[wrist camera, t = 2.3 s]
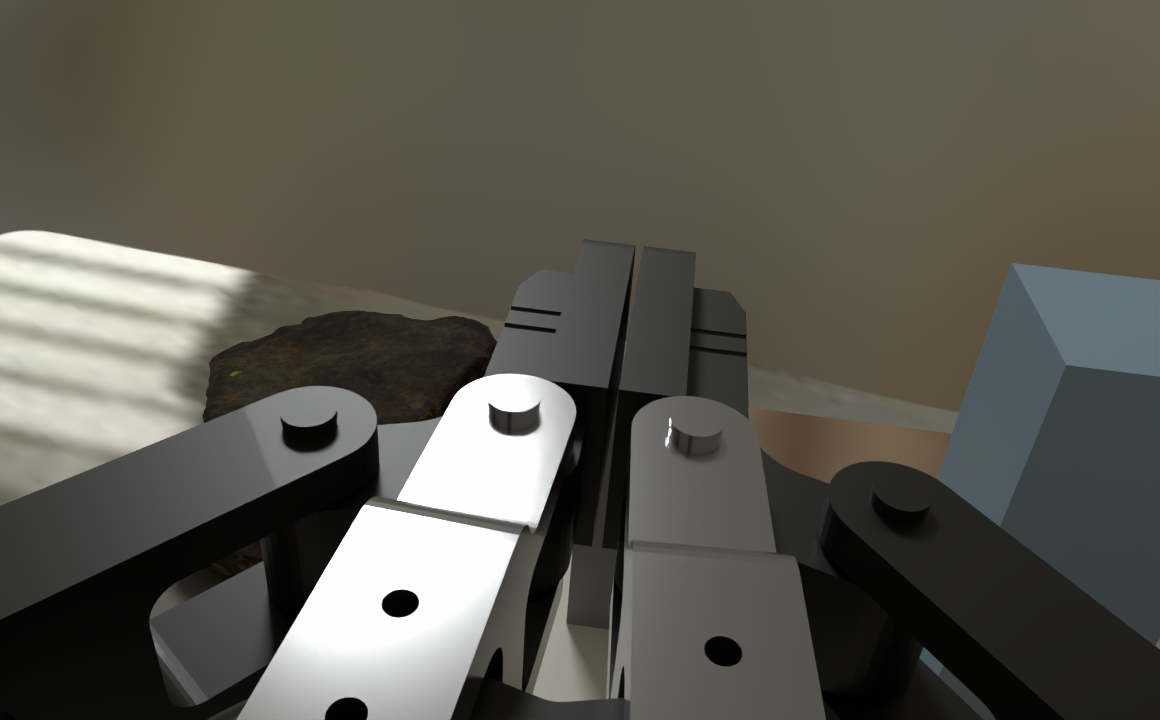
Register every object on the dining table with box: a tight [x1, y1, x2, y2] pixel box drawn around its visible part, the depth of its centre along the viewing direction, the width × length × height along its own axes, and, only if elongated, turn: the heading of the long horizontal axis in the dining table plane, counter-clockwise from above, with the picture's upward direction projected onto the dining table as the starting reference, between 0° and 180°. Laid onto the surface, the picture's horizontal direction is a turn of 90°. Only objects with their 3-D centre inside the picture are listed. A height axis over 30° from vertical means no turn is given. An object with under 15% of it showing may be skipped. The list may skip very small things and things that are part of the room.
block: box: [920, 263, 1160, 720], centre depth 27 cm, size 5×5×15 cm
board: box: [748, 408, 952, 484], centre depth 33 cm, size 21×23×2 cm
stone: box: [202, 311, 497, 578], centre depth 42 cm, size 18×11×3 cm, turn 161°
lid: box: [532, 341, 627, 702], centre depth 29 cm, size 9×9×10 cm
